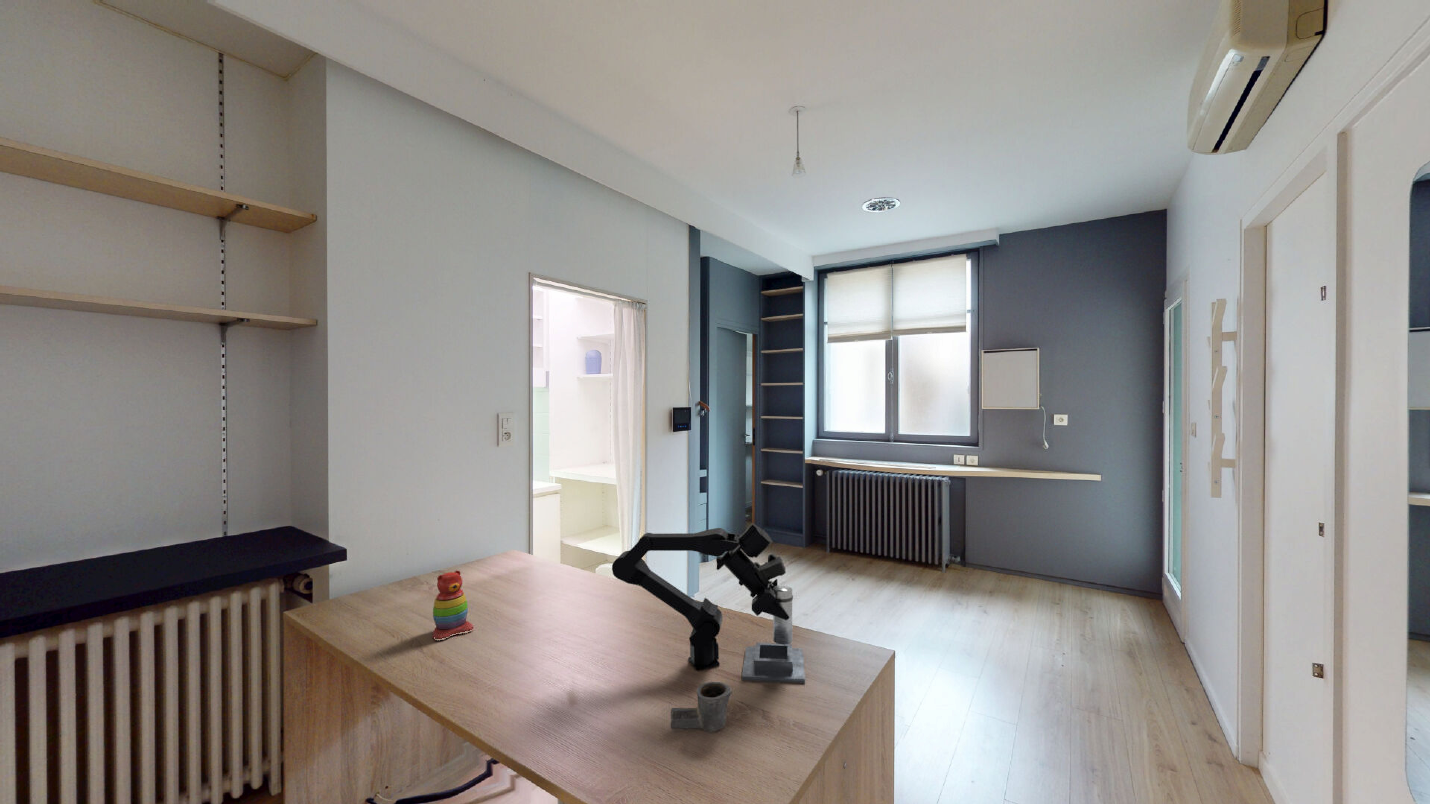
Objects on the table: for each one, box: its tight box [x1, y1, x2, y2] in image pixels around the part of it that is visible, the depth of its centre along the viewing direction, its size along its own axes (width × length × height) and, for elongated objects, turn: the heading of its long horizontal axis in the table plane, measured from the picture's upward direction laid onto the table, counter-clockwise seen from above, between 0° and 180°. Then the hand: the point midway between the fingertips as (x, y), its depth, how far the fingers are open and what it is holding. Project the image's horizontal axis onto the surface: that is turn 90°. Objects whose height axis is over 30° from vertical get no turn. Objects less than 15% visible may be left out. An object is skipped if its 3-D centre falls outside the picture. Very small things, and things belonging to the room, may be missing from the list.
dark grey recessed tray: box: [741, 642, 806, 684], centre depth 132 cm, size 15×15×4 cm
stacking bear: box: [432, 570, 474, 639], centre depth 157 cm, size 11×10×18 cm
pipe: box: [670, 681, 732, 733], centre depth 108 cm, size 6×13×8 cm, turn 95°
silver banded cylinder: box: [772, 584, 794, 645], centre depth 132 cm, size 5×5×13 cm
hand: (788, 614), depth 132 cm, fingers closed on silver banded cylinder, 5 cm apart
